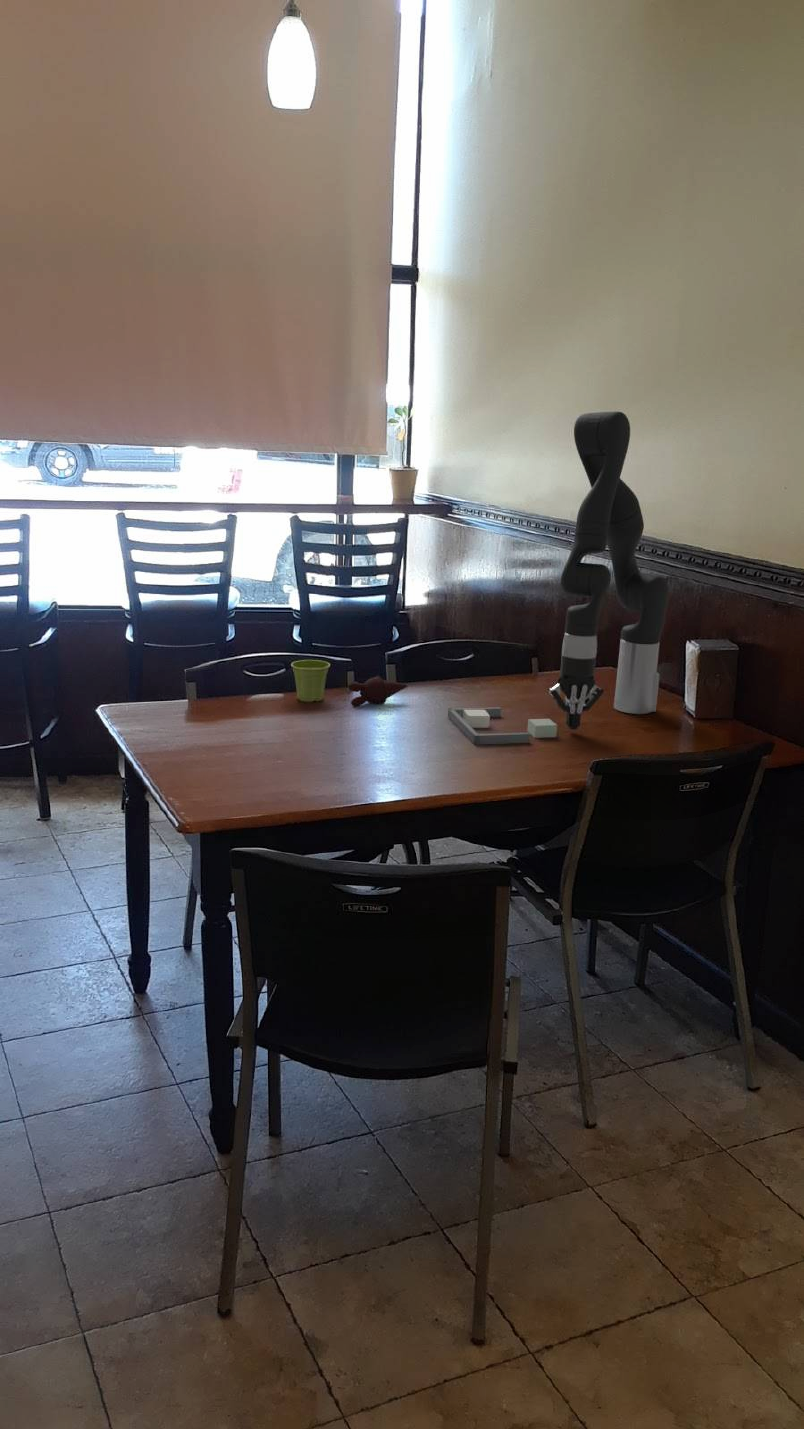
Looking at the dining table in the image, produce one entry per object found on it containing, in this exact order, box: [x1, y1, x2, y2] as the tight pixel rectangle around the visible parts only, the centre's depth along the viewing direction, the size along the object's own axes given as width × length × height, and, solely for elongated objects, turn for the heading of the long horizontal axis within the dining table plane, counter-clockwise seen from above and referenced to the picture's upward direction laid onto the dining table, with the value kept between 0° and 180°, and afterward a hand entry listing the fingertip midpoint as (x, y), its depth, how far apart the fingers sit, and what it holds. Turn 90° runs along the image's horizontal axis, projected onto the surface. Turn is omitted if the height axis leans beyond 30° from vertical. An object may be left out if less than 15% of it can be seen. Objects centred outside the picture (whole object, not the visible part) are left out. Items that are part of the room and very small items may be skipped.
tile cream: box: [463, 710, 491, 729], centre depth 254 cm, size 5×5×3 cm
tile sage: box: [526, 718, 558, 739], centre depth 249 cm, size 5×5×3 cm
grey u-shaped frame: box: [447, 706, 531, 746], centre depth 251 cm, size 12×21×2 cm, turn 14°
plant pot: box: [290, 659, 331, 703], centre depth 268 cm, size 9×9×9 cm
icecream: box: [347, 675, 408, 707], centre depth 267 cm, size 7×7×15 cm
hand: (572, 728), depth 251 cm, fingers closed
